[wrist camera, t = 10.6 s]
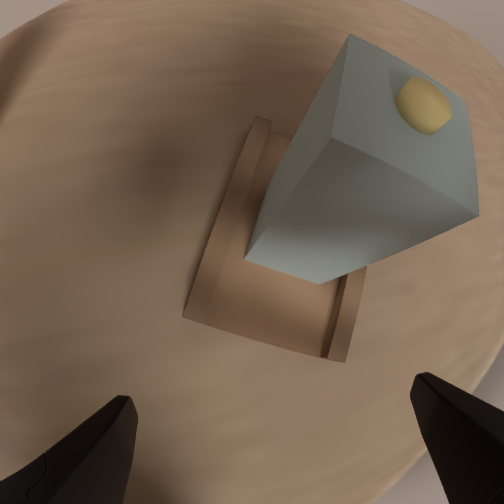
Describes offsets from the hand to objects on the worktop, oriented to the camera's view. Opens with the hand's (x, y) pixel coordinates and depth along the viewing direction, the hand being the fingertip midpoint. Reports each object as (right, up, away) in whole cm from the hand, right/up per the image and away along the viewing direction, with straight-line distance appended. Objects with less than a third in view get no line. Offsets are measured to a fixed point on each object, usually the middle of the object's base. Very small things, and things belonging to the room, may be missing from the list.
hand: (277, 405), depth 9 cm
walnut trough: (+2, +5, +12) cm, 14 cm away
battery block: (+2, +6, +12) cm, 13 cm away
